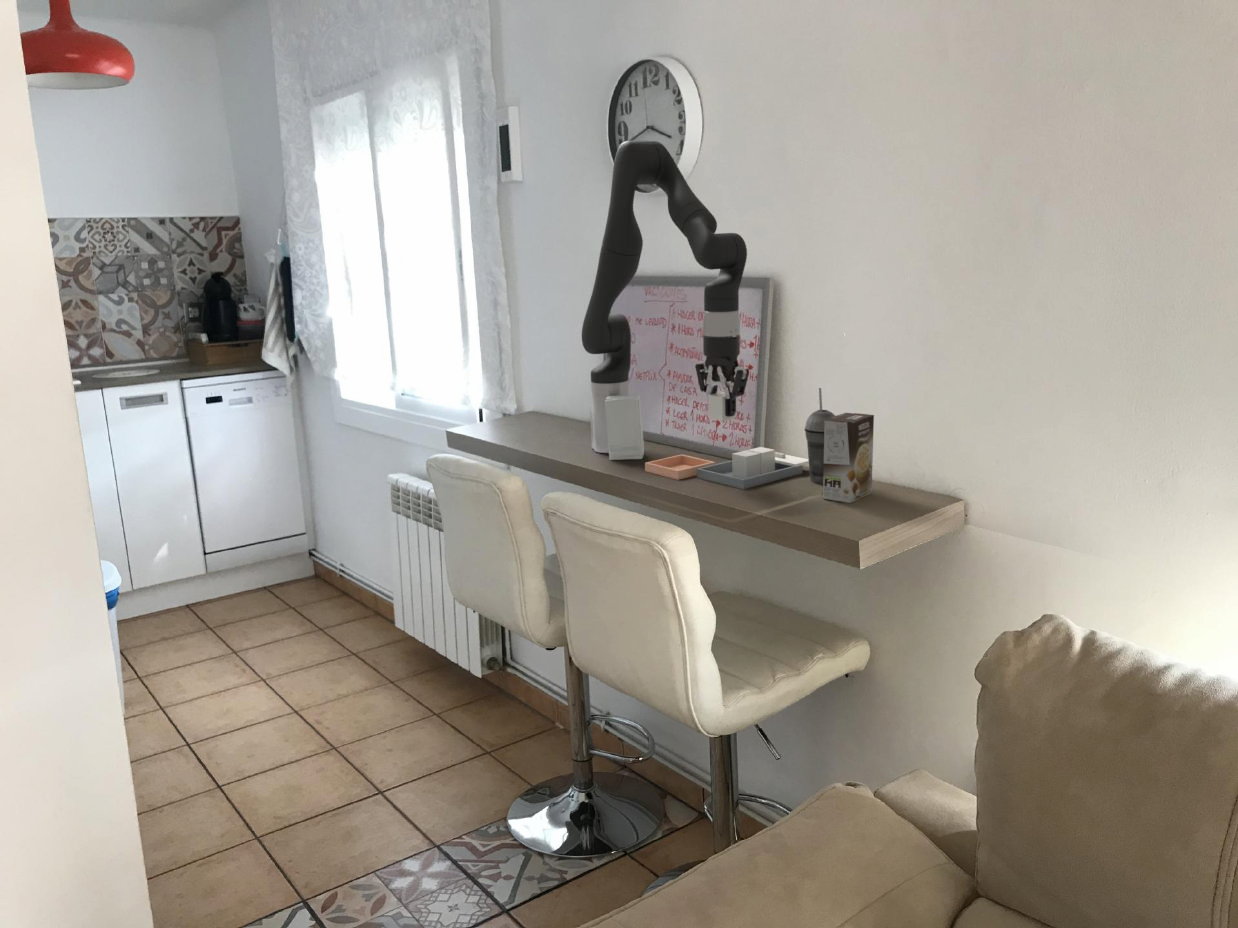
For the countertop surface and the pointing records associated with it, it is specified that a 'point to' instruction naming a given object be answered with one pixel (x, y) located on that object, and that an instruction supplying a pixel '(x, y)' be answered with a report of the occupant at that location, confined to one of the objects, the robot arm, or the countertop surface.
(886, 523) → the countertop surface
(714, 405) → the white block
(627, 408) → the skincare box
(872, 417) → the coffee box
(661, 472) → the orange square tray
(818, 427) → the beverage cup
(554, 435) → the countertop surface
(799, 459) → the blue-grey shallow rectangular tray
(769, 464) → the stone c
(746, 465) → the white cuboid
